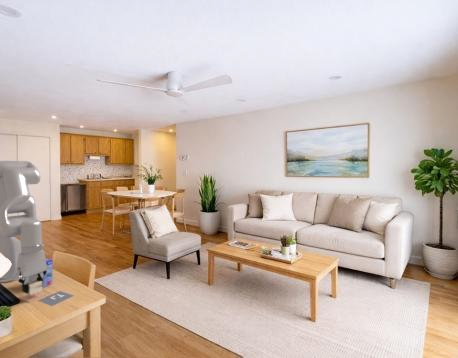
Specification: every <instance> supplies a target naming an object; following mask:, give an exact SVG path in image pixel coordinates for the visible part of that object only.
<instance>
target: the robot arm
mask: <svg viewBox="0 0 458 358" xmlns="http://www.w3.org/2000/svg"><path fill="white" fill-rule="evenodd" d="M40 182H41V173H40V171H39V169H38V168H37V166H36V165H34V164H33V163H32V162H31V161H28V160H27V161H26V160H0V252H1V253H2V254H3V255H4V256H5V257H6V258H8V259H9V260H10V261H11V263H12V266H11V268H10V270H9V271H8V272H7V273H6V274H5V275H4V276H3V277H2V278H0V283H8V282H13V281H16V282H18V283H20V284H21V286H22V287H21V288H22V290H21V291H22V292H23V293H24V292H25V293H24V294H26V293H29V284H28V283H27V282H28V278H29V276H32V275H35V274H37V276H38V278H37V280H38V281H42V287H43V278H44V276H45V274H46V273H47V271H48V270H49V269H50V267H49V266H48V265H47V264H46V259H47V258H46V253H45V251H44V249H43V247H45V246H46V244H45V243H44V242H43V238H42V237H43V234H42V233H43V232H42V229H43V228H42V222H41V221H40V220H39V219H38V218H37V208H36V207H37V206H36V201H35V198H34V197H33V195H31V193H30V191H29V186H30V185H38V184H39V183H40ZM19 213H23V214H19ZM11 214H19V215H11ZM8 215H11V216H8ZM17 237H20V239H19V238H17Z"/></svg>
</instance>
